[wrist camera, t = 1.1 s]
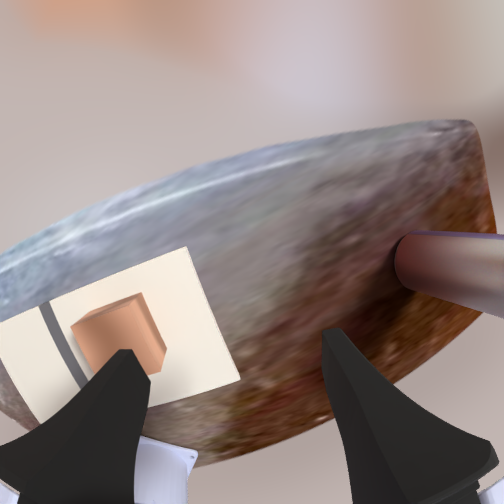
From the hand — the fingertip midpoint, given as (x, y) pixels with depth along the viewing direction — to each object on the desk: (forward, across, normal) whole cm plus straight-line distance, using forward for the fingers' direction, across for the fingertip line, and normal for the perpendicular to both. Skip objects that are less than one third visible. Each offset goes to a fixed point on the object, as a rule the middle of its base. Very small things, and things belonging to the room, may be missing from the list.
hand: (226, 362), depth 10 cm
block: (+9, +10, +5) cm, 14 cm away
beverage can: (+15, -17, +6) cm, 24 cm away
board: (+8, +14, +7) cm, 18 cm away
